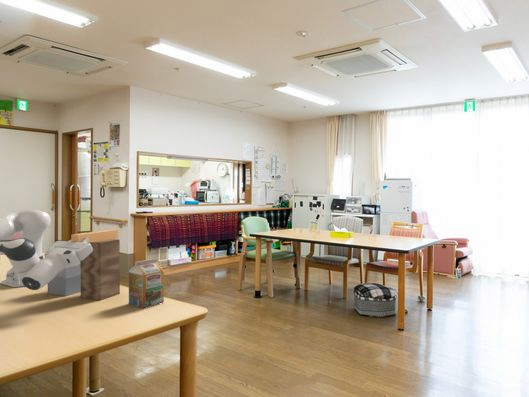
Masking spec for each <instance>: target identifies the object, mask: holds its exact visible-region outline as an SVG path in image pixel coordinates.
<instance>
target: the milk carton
mask: <svg viewBox="0 0 529 397" xmlns="http://www.w3.org/2000/svg"><path fill="white" fill-rule="evenodd" d="M164 273H165V271H164V269H163V268H162V266H161V265H160V264H159V262H158V259H157V258H153V259H145V260H139V261H135V265H134V266H132V267H131V268H130V269H129V270H128V304H129V305H131V306H134V307H137V308H140V309H147V308H150V307H149V306H151V307H153V305H155V306H157V305H156V304H158V305H160V304H159V303H162V304H164V303H163V302H164V301H165V297H164V295H165V287H164V286H165V284H164V283H165V278H164V277H165V276H164ZM146 307H147V308H146Z"/></svg>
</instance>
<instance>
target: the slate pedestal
mask: <svg viewBox="0 0 529 397" xmlns="http://www.w3.org/2000/svg"><path fill="white" fill-rule="evenodd" d="M78 293H81V267H80V264H79V265H78V266H73V267H69V268H65V269H64V270H62V271H61V272H59V273H58V274H57V275H56V277H55V278H54V279H53V280H51V281H50V282H49V283H48V284H47V294H49V295H56V296H63V297H67V296H71V295H74V294H78Z"/></svg>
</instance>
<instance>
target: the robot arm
mask: <svg viewBox="0 0 529 397" xmlns="http://www.w3.org/2000/svg"><path fill="white" fill-rule="evenodd" d="M51 221H52V219H51V216H50V215H49V213H47V212H45V211H42V210H41V209H26V208H25V209H24V208H22V209H18V210H14V211H13V212H11V213H9V214H7V215H5V216H3V217H0V259H1V257H2V255H4V256H6V258H8V261H9V262H10V265H11V266H12V267H11V268H10V269H9V270H7V272H6V275H5V280H1V281H0V284H1V285H5V286H8V287H12V288H18V287H25V288H27V289H29V290H32V291H38V290H40V289H42V288H44V287H45V286H46V285H48V283H49V282H50V281H51V280H53V279H54V278H55V277H56V275H57V274H58V273H59V272H61V271H62V270H64V269H65V268H69V267H73V266H78V265H79V264H80V261H82V260H84V259H85V258H86V257H87V256H88V255H89V254H90V253H91V252H92V251H93V248H92V246H91V244H90V243H87V242H88V241H89V239H88V238H84V239H83V242H81V243H80V242H71V239H70V240H68V241H63V240H57V241H55V242H54V243H53V244H51V245H50V246H49V247H48V249H47V250H46V252H45V253H44V255H43V240H44V235H45V233H46V230H47V229H48V228H49V227H50V224H51ZM21 232H22V234H21V237H19V238H15V239H12V238H13V237H15V236H16V235H17V234H19V233H21Z"/></svg>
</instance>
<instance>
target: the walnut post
mask: <svg viewBox="0 0 529 397" xmlns="http://www.w3.org/2000/svg"><path fill="white" fill-rule="evenodd" d="M90 244H91V246H92V248H93V251H92V252H91V253H90V254H89V255H88V256H87V257H86V258H85V259H84V260H82V261H80V267H81V292H80V298H83V299H89V300H97V301H103V300H106V299H109V298H112V297H115V296H117V294H118V295H120V294H121V286H120V283H121V281H120V280H121V272H120V271H121V270H120V269H121V268H120V265H121V264H120V263H121V262H120V260H121V259H120V255H121V254H120V250H121V248H120V247H121V246H120V239H119V238H116V239H110V240H103V241H97V242H90Z"/></svg>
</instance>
